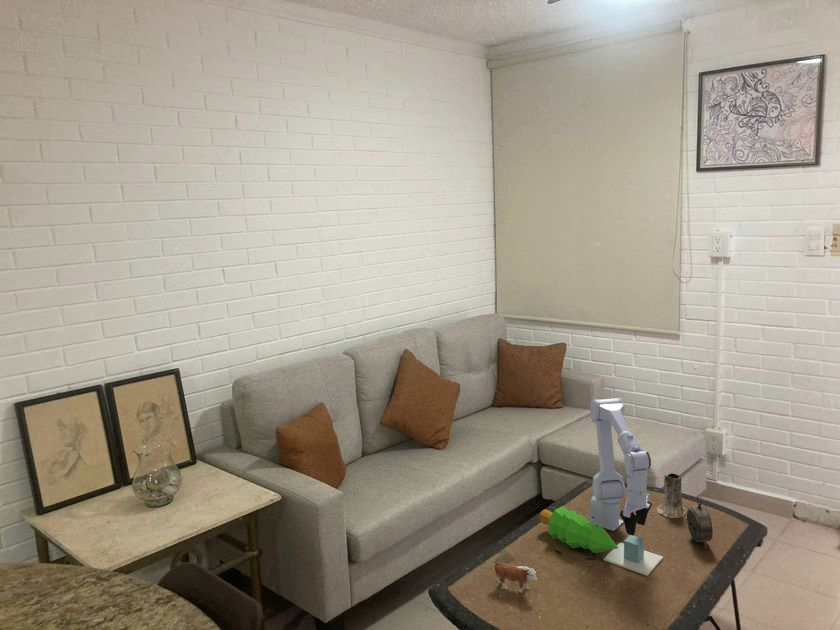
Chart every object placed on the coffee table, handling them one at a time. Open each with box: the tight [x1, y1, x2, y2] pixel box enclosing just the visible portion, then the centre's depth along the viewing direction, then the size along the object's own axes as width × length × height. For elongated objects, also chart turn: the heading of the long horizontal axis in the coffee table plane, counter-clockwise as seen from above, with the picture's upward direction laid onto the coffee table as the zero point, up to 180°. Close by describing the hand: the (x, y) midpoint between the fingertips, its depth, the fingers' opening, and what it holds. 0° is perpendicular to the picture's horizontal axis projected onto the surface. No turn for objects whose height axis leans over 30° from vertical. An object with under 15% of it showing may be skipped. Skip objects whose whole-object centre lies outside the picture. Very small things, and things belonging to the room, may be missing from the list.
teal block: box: [623, 535, 645, 563], centre depth 207 cm, size 4×4×6 cm
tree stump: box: [656, 473, 688, 519], centre depth 235 cm, size 10×10×13 cm
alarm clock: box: [686, 494, 714, 550], centre depth 214 cm, size 11×5×16 cm, turn 178°
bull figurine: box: [494, 562, 538, 594], centre depth 194 cm, size 4×13×8 cm, turn 58°
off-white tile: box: [603, 542, 664, 577], centre depth 207 cm, size 14×12×1 cm
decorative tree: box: [539, 505, 618, 554], centre depth 214 cm, size 11×12×30 cm
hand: (635, 529), depth 207 cm, fingers open, 7 cm apart
